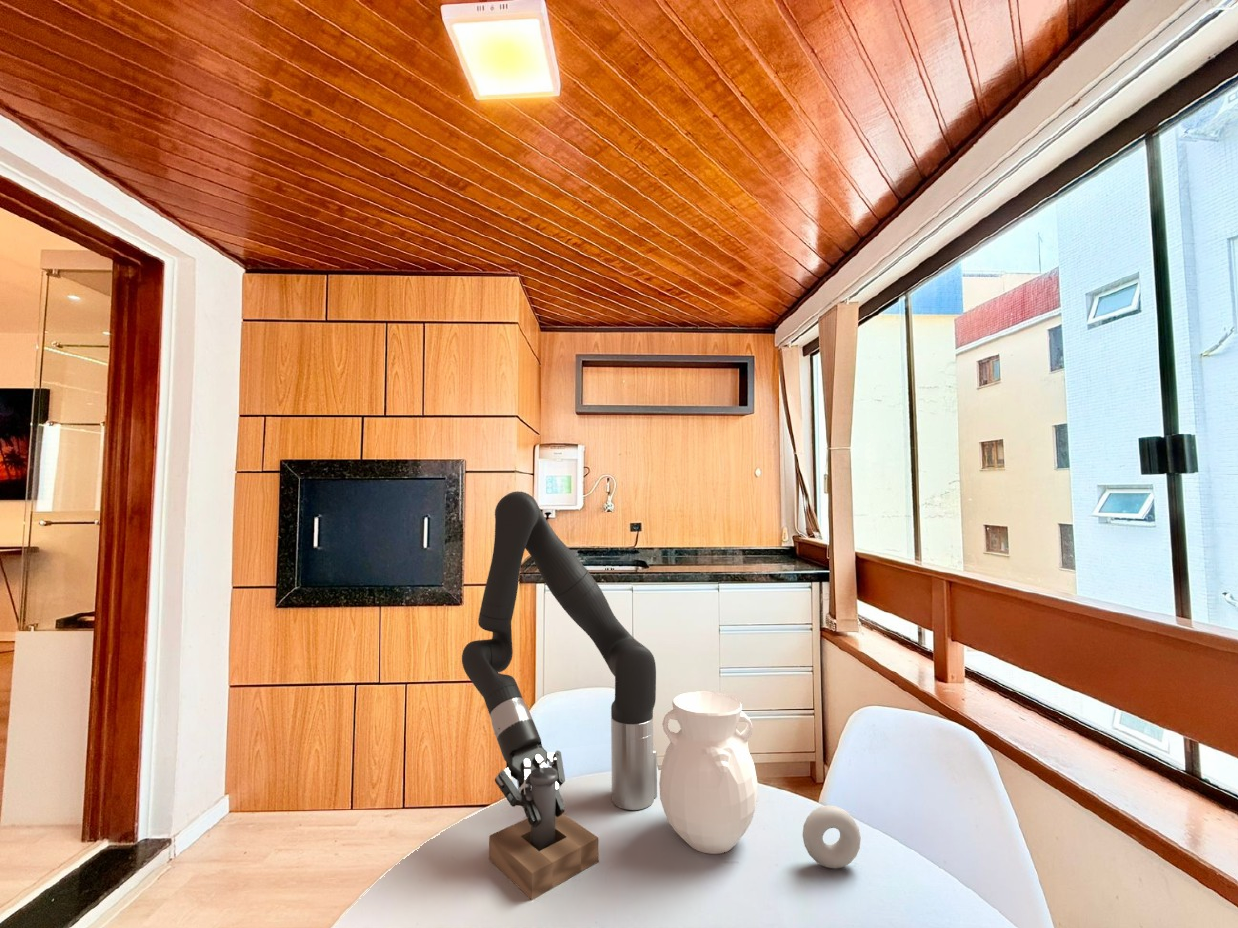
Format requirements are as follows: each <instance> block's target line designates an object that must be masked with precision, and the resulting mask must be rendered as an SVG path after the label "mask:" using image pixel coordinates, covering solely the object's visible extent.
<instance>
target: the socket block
mask: <svg viewBox="0 0 1238 928" xmlns="http://www.w3.org/2000/svg"><path fill="white" fill-rule="evenodd" d="M488 837H489V838H488V842H489V843H488V860H489V861H490V862H491V863H492V864H493V865H495V867H496V868H497V869H499V870H500V872H501V873H503V874H504V875H505V876H506V877H507V878H508V879H509V880H510V881H511V882H512V883H513V884H514V885H515V886H517V887H518V889H519V890H520V891H522V893H524V894H525V895H526V896H527V897H528V898H529V899H530V900H531V901H533V900H535V899H536V898H538V897H540V896H541V895H543V894H546V892H549V891H550V890H552V889H554V888H556V887H557V886H559V885H561V884H562V883H564V882H565V881H567V880H569V879H571V878H572V877H574V876H576V875H578V874H580V873H581V872H583V871H585V870H586V869H588V868H590V867H591V866H593V865H595V864H597V863H599V861H600V859H599V857H600V856H599V851H600V850H599V849H600V847H599V836H597V835H595V834H594V833H592V832H591V831H589V829H586V828H585V827H584V826H583V825H580V824H579V823H577V822H576V821H575V820H573V819H572V818H570V817H569V816H567V815H566V814H565V813H563V814H562V815H561V816H559V817H556V815H555V843H554V844H552V845H550V846H548V847H547V848H545V849H543V850H541V851H538V850H537V849H536V848H534V847H533V846H532V845H531V844H530V839H531V825H530V824H529V822H528V819H527V818H524V819H523V820H520V821H518V822H515V823H514V824H512V825H509V826H507V827H505V828H503V829H500V830H498V831H496V832H494V833H491V834H489V835H488Z"/></svg>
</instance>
